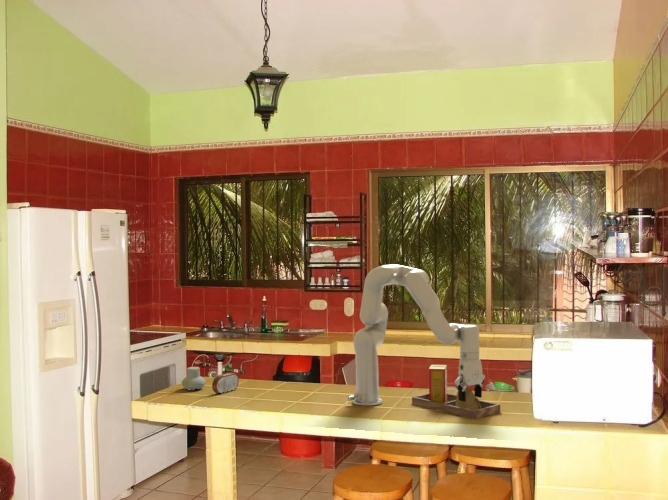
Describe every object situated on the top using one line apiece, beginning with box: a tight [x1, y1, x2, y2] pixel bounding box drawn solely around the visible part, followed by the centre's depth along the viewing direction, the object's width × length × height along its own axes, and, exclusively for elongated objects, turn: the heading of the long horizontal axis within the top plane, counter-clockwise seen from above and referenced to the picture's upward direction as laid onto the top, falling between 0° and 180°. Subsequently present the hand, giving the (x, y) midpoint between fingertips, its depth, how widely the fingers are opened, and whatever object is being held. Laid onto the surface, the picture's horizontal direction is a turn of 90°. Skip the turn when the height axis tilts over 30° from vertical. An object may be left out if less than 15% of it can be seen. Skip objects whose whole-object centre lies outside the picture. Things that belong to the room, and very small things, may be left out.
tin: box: [211, 372, 240, 394], centre depth 319 cm, size 15×3×8 cm, turn 144°
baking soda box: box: [428, 364, 448, 403], centre depth 290 cm, size 10×6×16 cm
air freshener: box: [181, 366, 206, 391], centre depth 326 cm, size 11×8×10 cm
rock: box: [455, 386, 482, 410], centre depth 278 cm, size 11×9×10 cm
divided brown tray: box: [411, 392, 501, 420], centre depth 284 cm, size 16×33×3 cm, turn 39°
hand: (470, 398), depth 277 cm, fingers open, 9 cm apart
